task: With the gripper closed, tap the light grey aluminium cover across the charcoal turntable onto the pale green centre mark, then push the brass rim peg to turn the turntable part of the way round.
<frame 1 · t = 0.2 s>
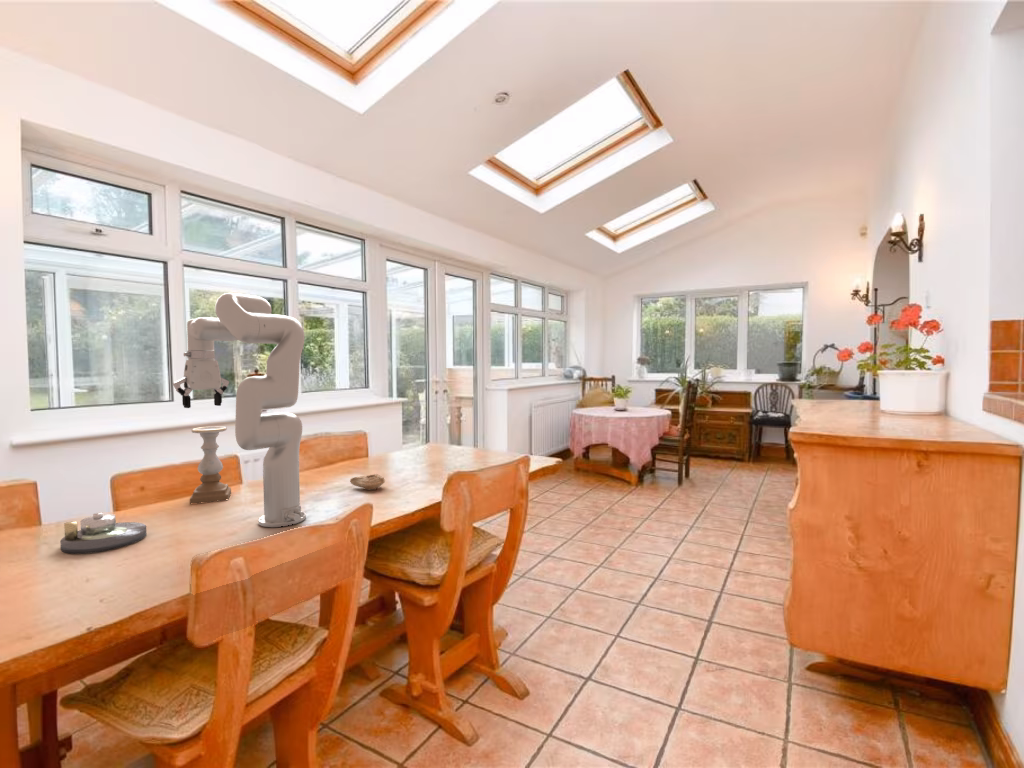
hand: (202, 406, 166), 31 cm above the table, tool pointing down, fingers open, 9 cm apart
turntable: (105, 529, 126), point 3 cm above the table, hinge at 0.0°, touching cover
pottery oil lamp: (367, 489, 180), on the table
candle holder: (211, 498, 167), on the table
cover: (98, 529, 129), point 2 cm above the table, touching turntable
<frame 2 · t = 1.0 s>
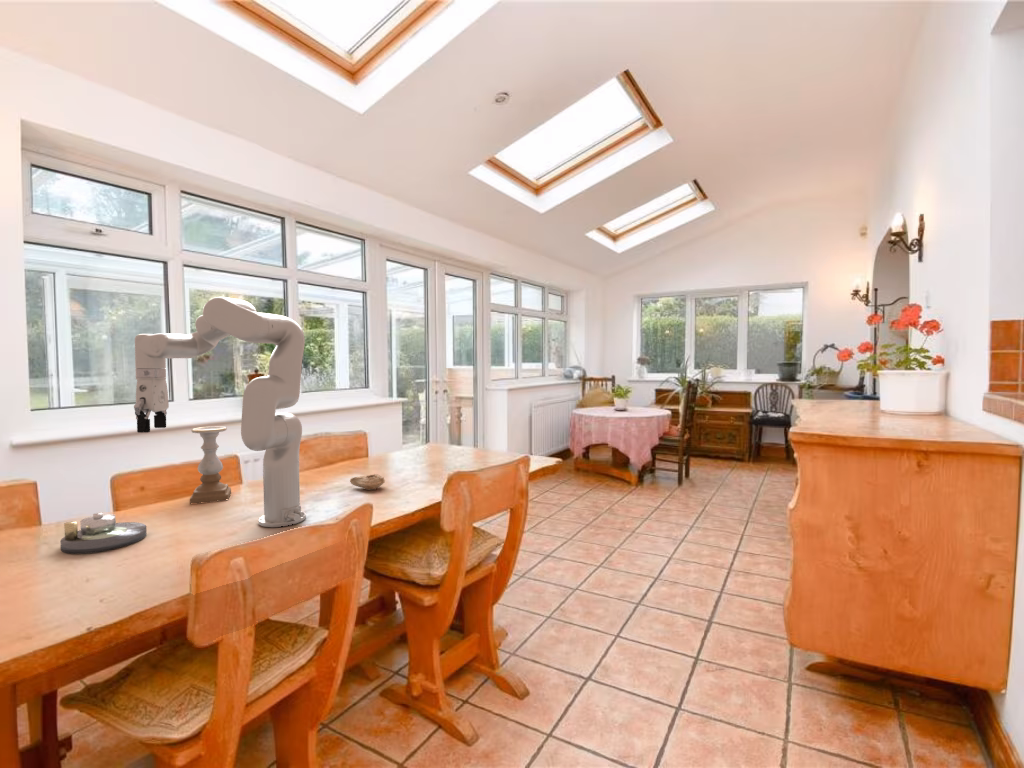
hand: (152, 429, 151), 25 cm above the table, tool pointing down, fingers open, 9 cm apart
nothing on the table moved.
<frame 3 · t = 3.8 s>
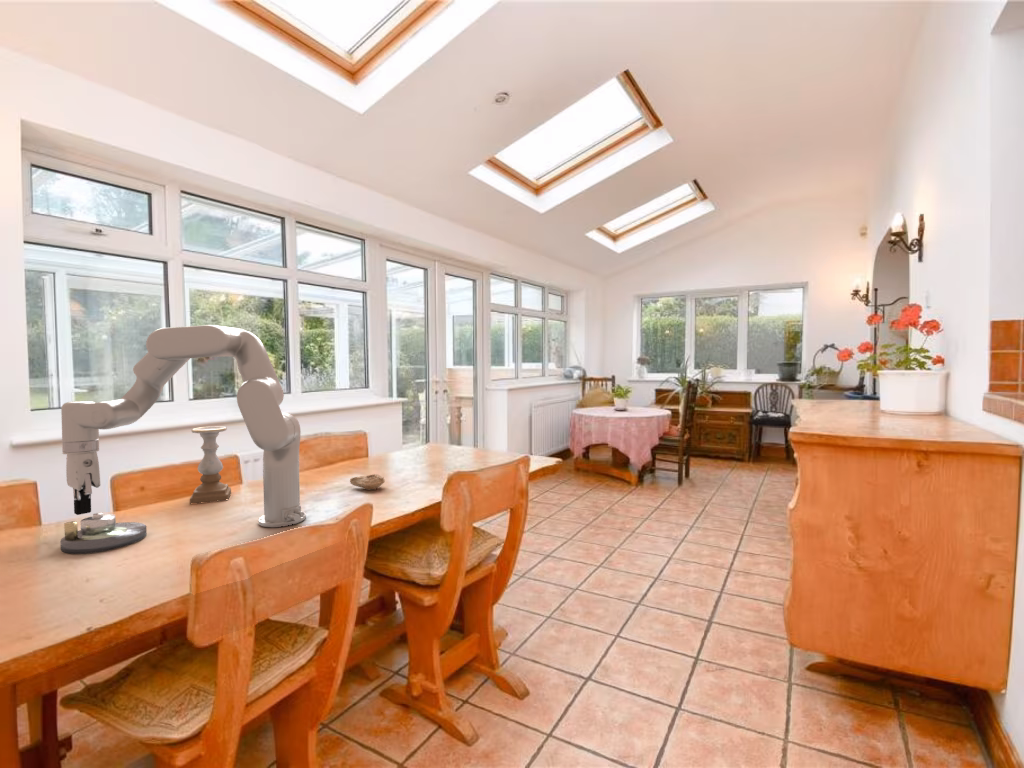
hand: (82, 513, 135), 5 cm above the table, tool pointing down, fingers closed
nothing on the table moved.
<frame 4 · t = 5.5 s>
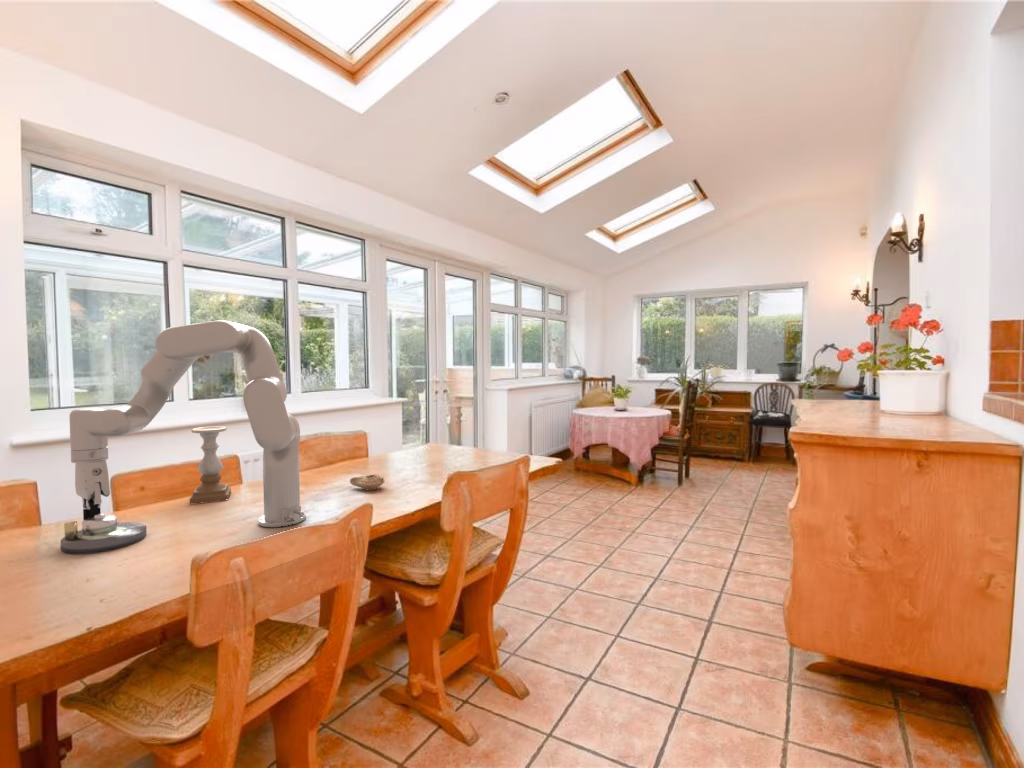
hand: (92, 522, 131), 3 cm above the table, tool pointing down, fingers closed
cover: (100, 530, 128), point 2 cm above the table, touching gripper, turntable
everything else where it was.
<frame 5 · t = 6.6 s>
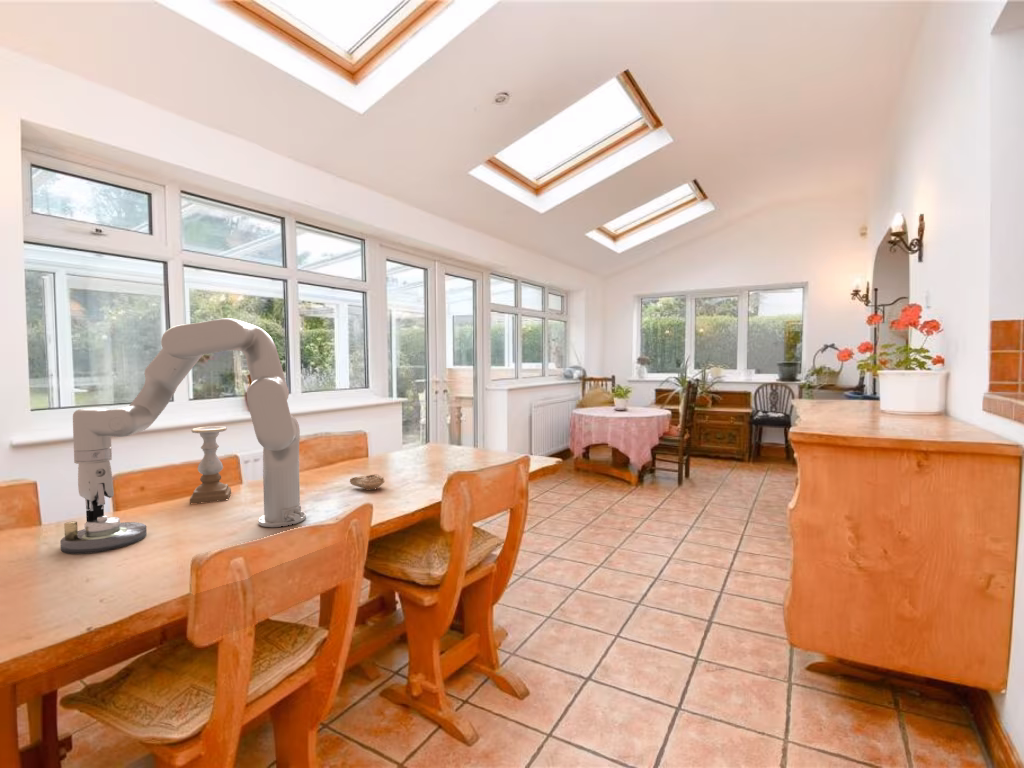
hand: (95, 524, 130), 3 cm above the table, tool pointing down, fingers closed
cover: (102, 532, 127), point 2 cm above the table, touching gripper, turntable
everything else where it was.
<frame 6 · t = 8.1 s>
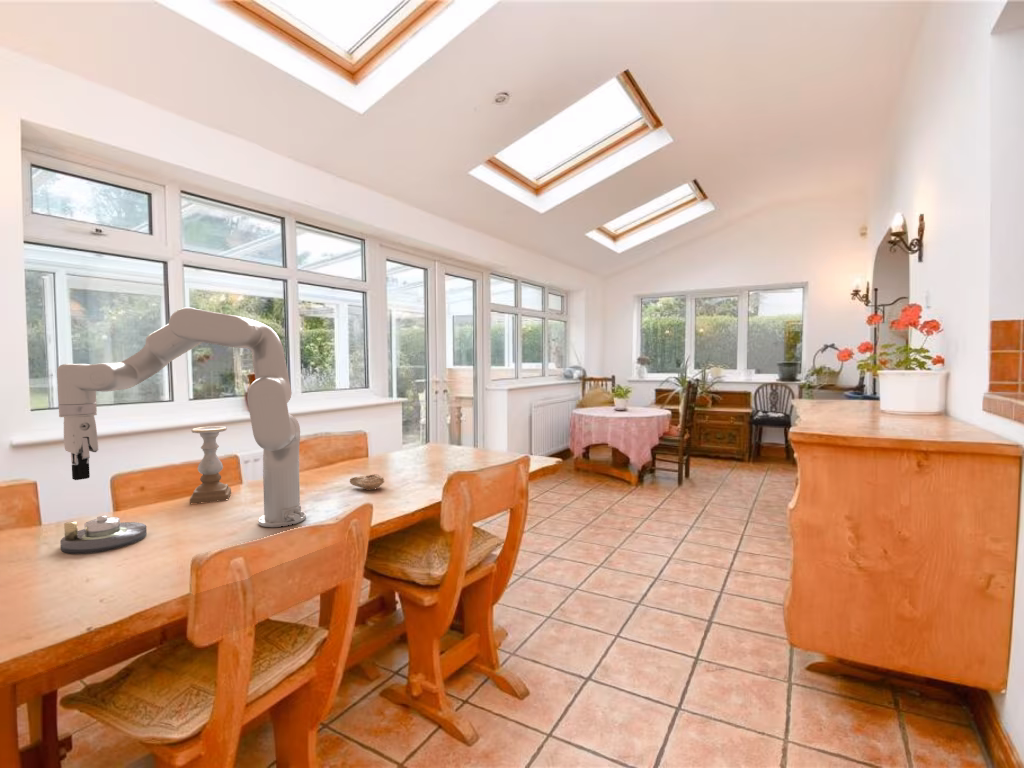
hand: (81, 478, 131), 15 cm above the table, tool pointing down, fingers closed
cover: (102, 532, 127), point 2 cm above the table, touching turntable
everything else where it was.
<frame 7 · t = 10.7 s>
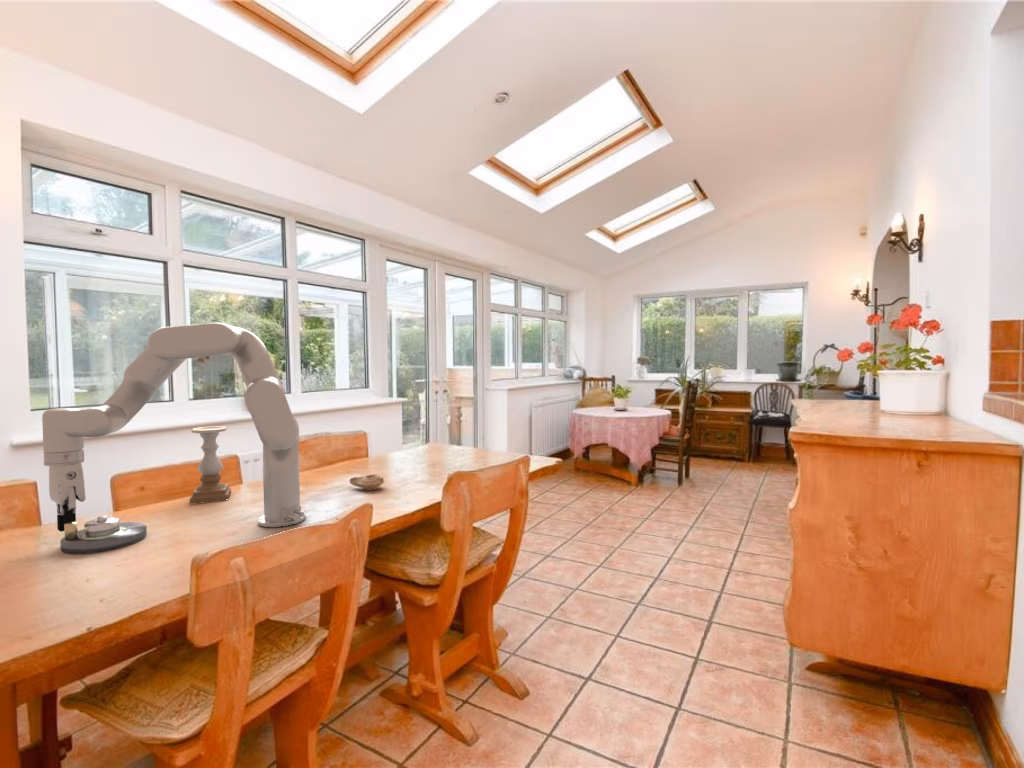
hand: (66, 529, 124), 4 cm above the table, tool pointing down, fingers closed
turntable: (105, 529, 126), point 3 cm above the table, hinge at 1.4°, touching cover, gripper
everything else where it was.
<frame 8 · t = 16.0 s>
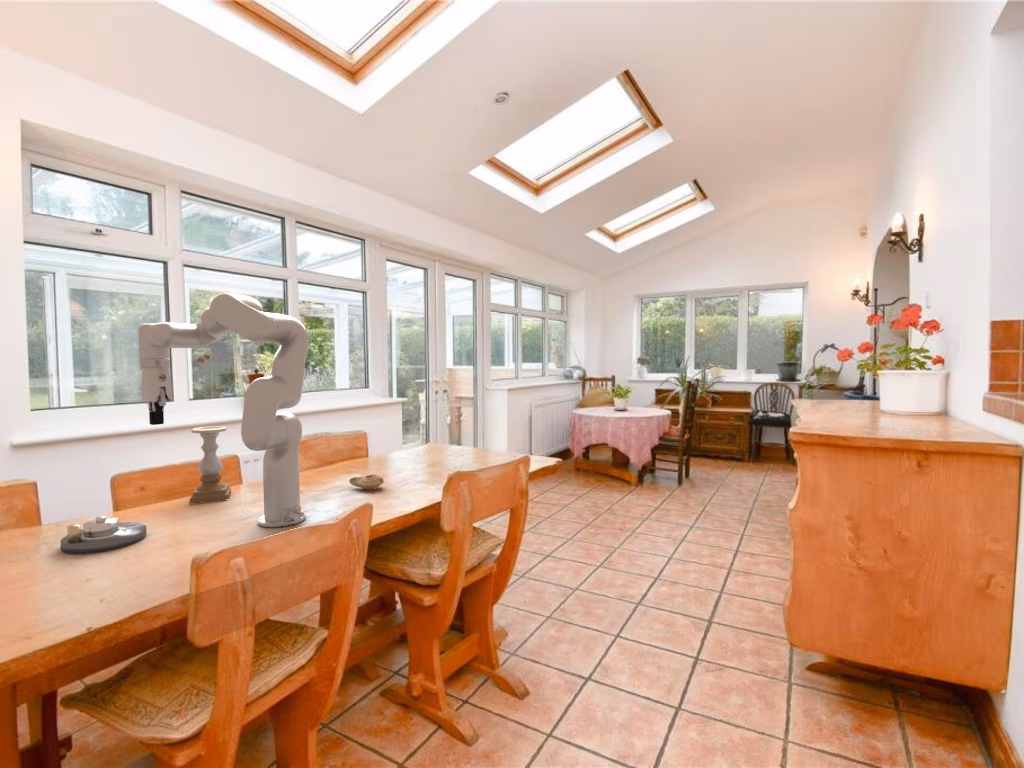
hand: (156, 424, 151), 27 cm above the table, tool pointing down, fingers closed
turntable: (105, 529, 126), point 3 cm above the table, hinge at 30.1°, touching cover
everything else where it was.
at the end: cover 0.8 cm from the turntable (horizontally); turntable at +30° (first picture: +0°); cover tilted 0° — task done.
